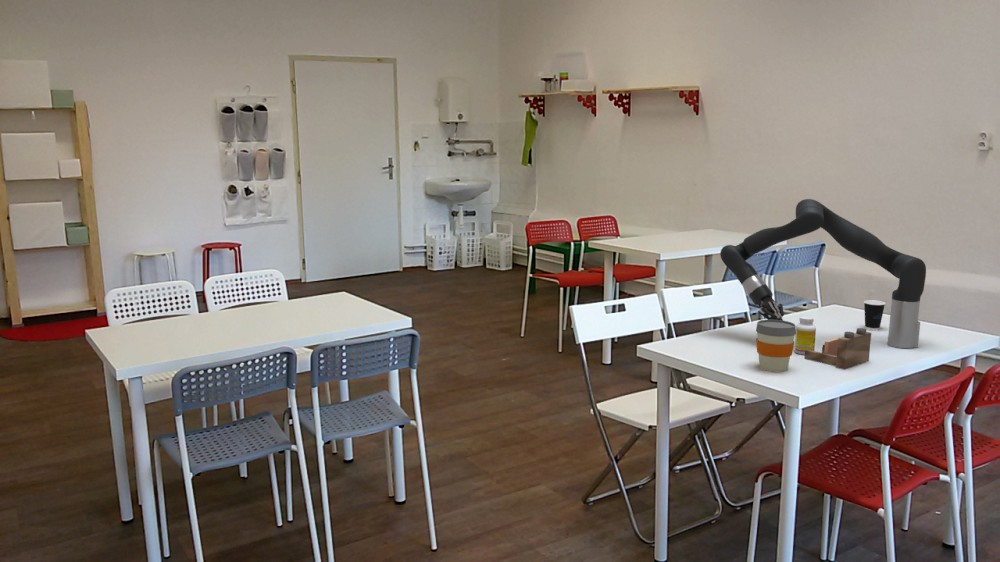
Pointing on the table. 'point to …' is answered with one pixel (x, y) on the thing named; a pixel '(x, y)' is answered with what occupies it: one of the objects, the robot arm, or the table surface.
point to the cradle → (846, 350)
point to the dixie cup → (873, 314)
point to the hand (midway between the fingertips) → (784, 328)
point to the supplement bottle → (805, 335)
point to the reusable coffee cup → (775, 344)
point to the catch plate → (831, 347)
